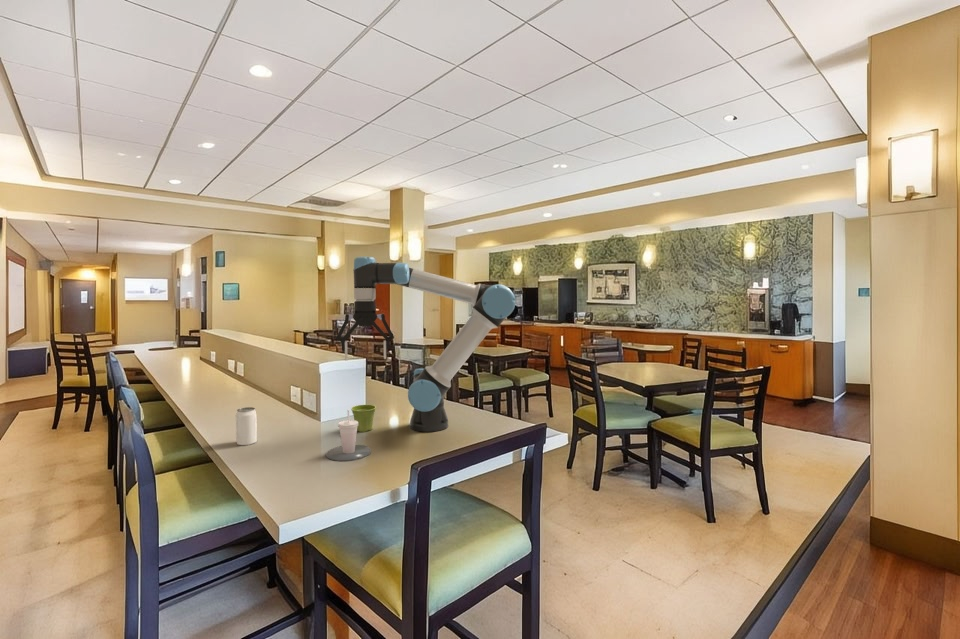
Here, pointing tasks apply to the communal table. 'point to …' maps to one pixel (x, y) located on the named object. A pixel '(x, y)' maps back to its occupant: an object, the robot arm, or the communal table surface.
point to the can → (246, 426)
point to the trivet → (338, 454)
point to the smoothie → (348, 434)
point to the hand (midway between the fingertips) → (365, 359)
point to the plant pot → (364, 416)
